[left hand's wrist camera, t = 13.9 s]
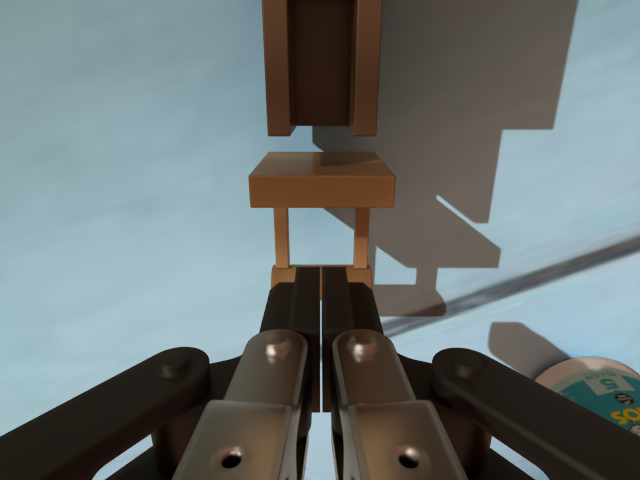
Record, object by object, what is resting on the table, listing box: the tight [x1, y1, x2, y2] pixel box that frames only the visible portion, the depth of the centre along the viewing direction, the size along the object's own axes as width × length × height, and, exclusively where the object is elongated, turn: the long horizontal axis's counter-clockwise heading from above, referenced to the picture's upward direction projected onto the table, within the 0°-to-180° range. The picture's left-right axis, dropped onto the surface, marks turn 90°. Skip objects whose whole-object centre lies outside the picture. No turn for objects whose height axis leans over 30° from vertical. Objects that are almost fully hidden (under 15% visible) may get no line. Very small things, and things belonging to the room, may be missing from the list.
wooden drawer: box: [249, 0, 396, 300], centre depth 15 cm, size 23×5×6 cm, turn 0°
